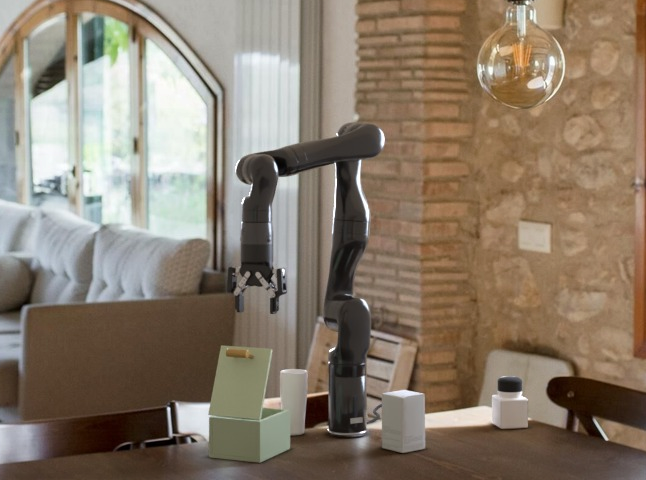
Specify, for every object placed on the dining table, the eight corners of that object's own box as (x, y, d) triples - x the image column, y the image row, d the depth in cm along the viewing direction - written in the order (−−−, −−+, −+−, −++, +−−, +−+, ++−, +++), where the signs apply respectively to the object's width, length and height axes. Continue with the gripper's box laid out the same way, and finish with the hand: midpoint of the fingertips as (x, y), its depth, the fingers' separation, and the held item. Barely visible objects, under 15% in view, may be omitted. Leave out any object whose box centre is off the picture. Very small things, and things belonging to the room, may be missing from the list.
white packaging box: (426, 449, 293) (426, 393, 294) (401, 453, 289) (401, 397, 289) (405, 443, 299) (404, 388, 299) (380, 448, 294) (380, 392, 295)
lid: (222, 346, 291) (212, 340, 287) (272, 349, 286) (263, 344, 282) (209, 415, 286) (199, 410, 282) (260, 420, 281) (250, 415, 276)
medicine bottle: (528, 428, 316) (528, 379, 316) (500, 429, 315) (500, 380, 315) (518, 422, 323) (518, 374, 323) (491, 423, 322) (491, 375, 322)
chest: (240, 443, 299) (241, 405, 299) (290, 448, 294) (290, 409, 294) (208, 457, 285) (208, 416, 285) (259, 462, 280) (260, 421, 280)
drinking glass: (309, 431, 313) (309, 369, 313) (305, 437, 306) (305, 373, 306) (281, 430, 313) (282, 368, 314) (277, 436, 306) (277, 373, 307)
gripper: (292, 241, 294) (292, 312, 294) (237, 240, 300) (237, 309, 299) (277, 243, 287) (277, 316, 287) (221, 241, 293) (221, 313, 292)
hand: (256, 312), depth 293 cm, fingers open, 8 cm apart
